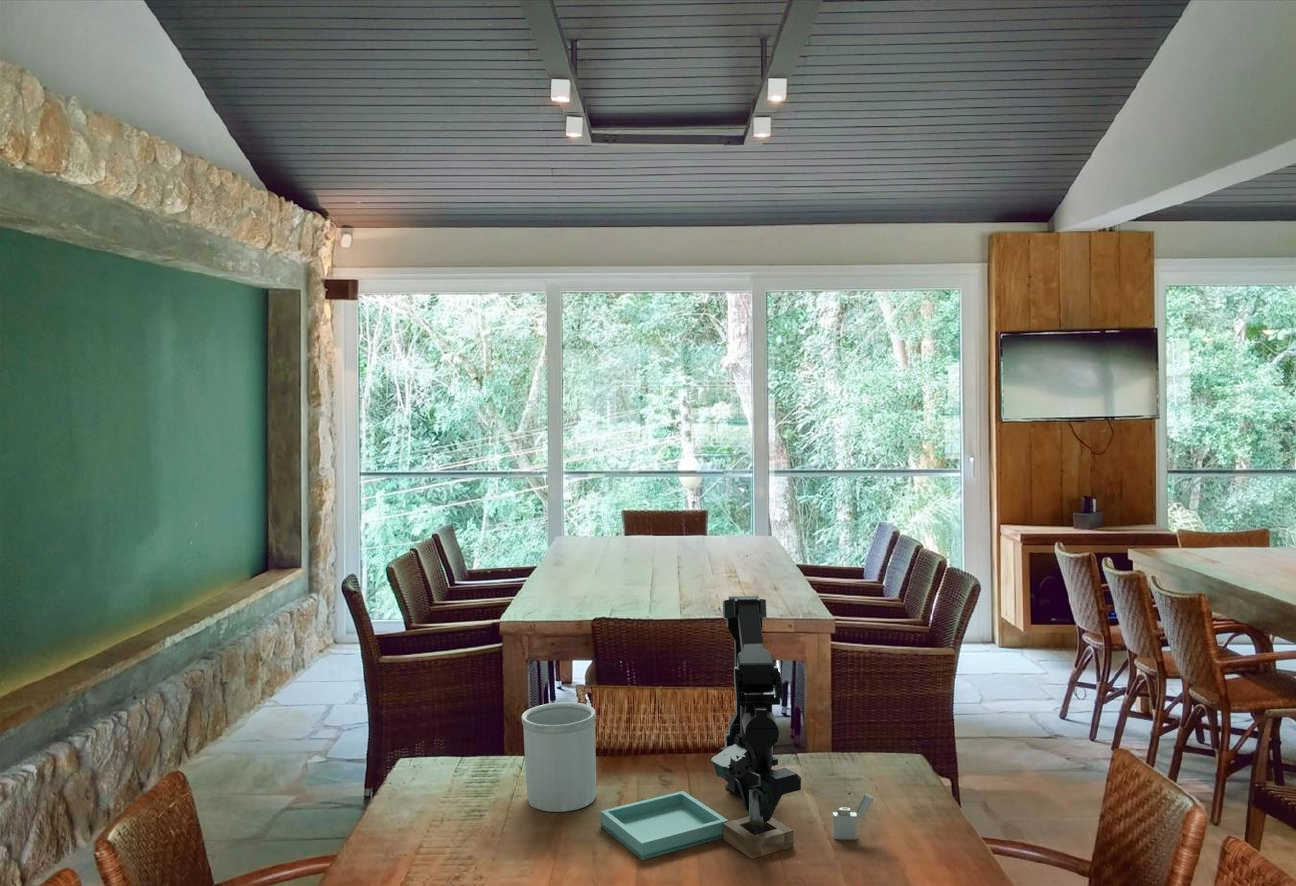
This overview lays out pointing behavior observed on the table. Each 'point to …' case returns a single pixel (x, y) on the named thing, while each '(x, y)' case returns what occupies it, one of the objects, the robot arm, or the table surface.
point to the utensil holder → (560, 756)
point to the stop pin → (755, 812)
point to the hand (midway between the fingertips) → (757, 815)
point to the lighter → (849, 819)
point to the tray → (663, 824)
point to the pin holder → (758, 837)
